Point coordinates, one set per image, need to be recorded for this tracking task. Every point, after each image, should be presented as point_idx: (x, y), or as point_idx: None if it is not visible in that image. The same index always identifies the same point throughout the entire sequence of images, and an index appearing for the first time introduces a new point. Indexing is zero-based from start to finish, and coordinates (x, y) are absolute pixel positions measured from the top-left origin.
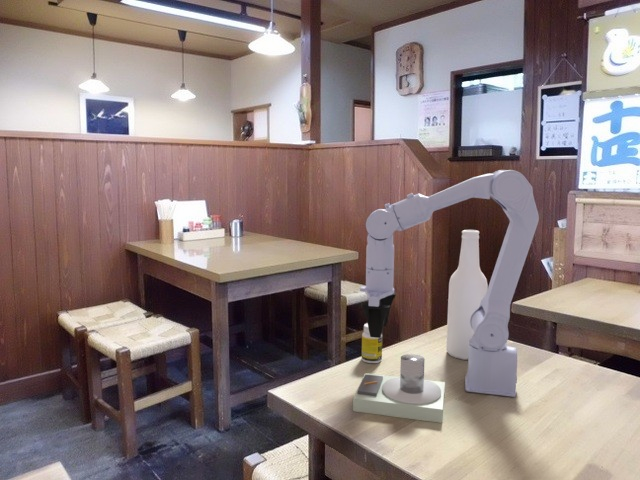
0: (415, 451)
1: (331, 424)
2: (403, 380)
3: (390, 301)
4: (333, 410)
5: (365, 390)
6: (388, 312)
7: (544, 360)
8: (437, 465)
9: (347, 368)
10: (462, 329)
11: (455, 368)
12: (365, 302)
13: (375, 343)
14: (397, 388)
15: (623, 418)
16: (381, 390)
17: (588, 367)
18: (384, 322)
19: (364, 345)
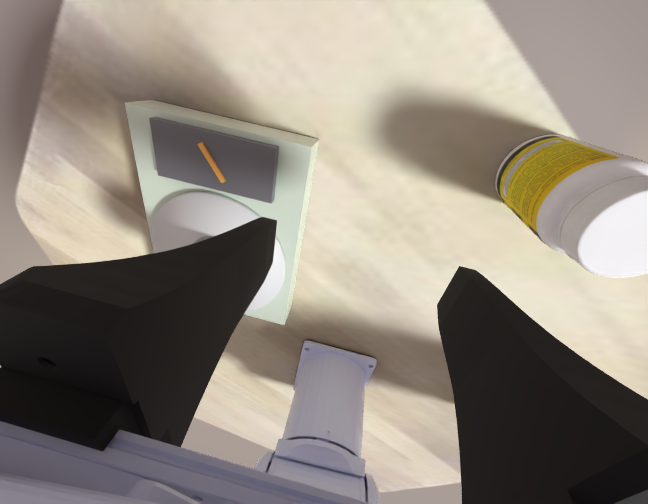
0: (70, 219)
1: (62, 34)
2: None
3: (470, 478)
4: (134, 34)
5: (161, 143)
6: (453, 382)
7: (445, 462)
8: (54, 242)
9: (466, 70)
10: None
11: (424, 355)
12: (86, 351)
13: (526, 212)
14: (208, 230)
15: (261, 440)
16: (201, 188)
17: (410, 481)
18: (443, 315)
19: (552, 159)
